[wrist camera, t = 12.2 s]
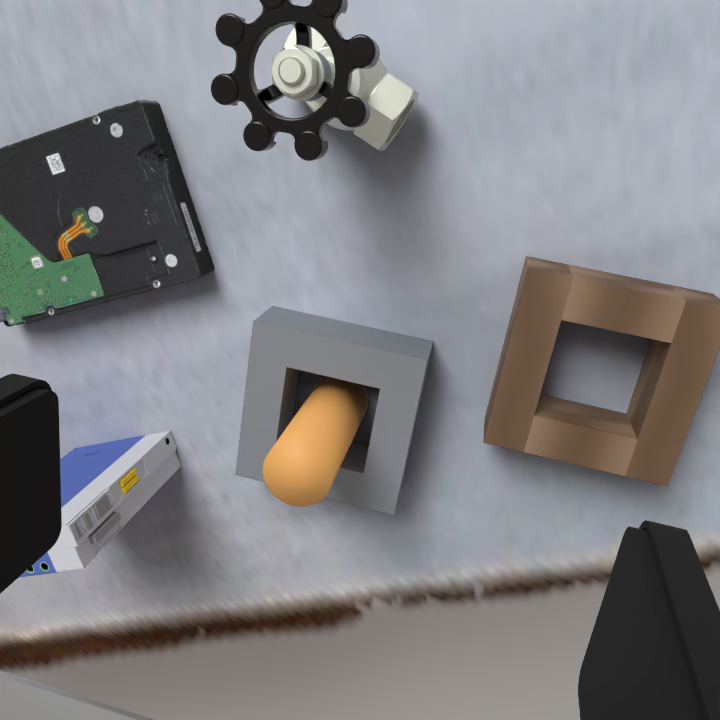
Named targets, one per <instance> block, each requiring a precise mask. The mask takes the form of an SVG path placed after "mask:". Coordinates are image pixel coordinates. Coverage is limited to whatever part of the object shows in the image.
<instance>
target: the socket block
mask: <svg viewBox="0 0 720 720" xmlns="http://www.w3.org/2000/svg"><path fill="white" fill-rule="evenodd" d="M432 346H433V341H428V340H424V339H419V338H415V337H410V336H405V335H401V334H396V333H392V332H387V331H383V330H378V329H374V328H369V327H365V326H360V325H356V324H351V323H347V322H342V321H338V320H333V319H329V318H324V317H319V316H315V315H310V314H306V313H301V312H297V311H292V310H288V309H283V308H279V307H274V306H272V307H271V308H270V309H268V310H267V311H266V312H265V313H263V314H262V315H261V316H259V317H258V318H257V319H256V320H254V321H253V328H252V336H251V345H250V354H249V362H248V371H247V380H246V388H245V397H244V406H243V414H242V423H241V432H240V440H239V449H238V457H237V466H236V475H238V476H242V477H246V478H250V479H254V480H258V481H262V482H265V480H264V477H263V463H264V460H265V458H266V456H267V454H268V453H269V452H270V450H271V449H272V447H273V446H274V445H275V443H276V442H277V440H278V439H279V438H280V436H281V435H282V433H283V432H284V431H285V429H286V428H287V426H288V425H289V424H290V422H291V421H292V419H293V414H294V407H295V400H296V393H297V387H298V380H299V373H300V370H302V371H306V372H310V373H315V374H319V375H323V376H327V377H332V378H336V379H340V380H345V381H349V382H353V383H358V384H362V385H366V386H370V387H375V388H379V389H380V391H379V397H378V402H377V407H376V412H375V417H374V423H373V428H372V433H371V438H370V443H369V446H366V445H362V444H358V443H353V442H352V443H351V445H350V447H349V449H348V451H347V453H346V455H345V458H344V460H343V462H342V464H341V466H340V468H339V470H338V472H337V475H336V477H335V479H334V481H333V483H332V485H331V487H330V489H329V491H328V493H327V495H326V496H325V497H324V498H328V499H332V500H336V501H340V502H344V503H348V504H352V505H356V506H360V507H363V508H367V509H371V510H375V511H379V512H383V513H387V514H391V515H394V513H395V510H396V506H397V503H398V499H399V496H400V492H401V488H402V484H403V480H404V475H405V470H406V466H407V461H408V457H409V452H410V447H411V443H412V438H413V433H414V429H415V424H416V420H417V415H418V410H419V406H420V401H421V397H422V392H423V387H424V383H425V378H426V374H427V369H428V364H429V360H430V355H431V350H432Z"/></svg>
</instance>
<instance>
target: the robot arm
mask: <svg viewBox="0 0 720 720" xmlns="http://www.w3.org/2000/svg"><path fill="white" fill-rule="evenodd" d="M61 527H62V515H61V478H60V442H59V406H58V397H57V395H56V393H54V392H53V391H52V390H51V387H50V385H49V384H48V383H47V382H46V381H43V380H39V379H35V378H30V377H26V376H22V375H17V374H10V375H7V376H4V377H2V378H0V593H1V592H2V591H4V590H5V589H6V588H7V587H8V586H9V585H10V584H11V583H13V582H14V581H15V580H16V579H17V578H18V577H19V576H21V575H22V574H23V573H24V572H25V571H26V570H27V569H28V568H30V567H31V566H32V565H33V564H34V563H35V562H36V561H37V560H39V559H40V558H41V557H42V556H43V555H44V554H45V553H46V552H48V551H49V550H50V549H51V548H52V547H53V546H54V545H55V543H56V542H57V540H58V538H59V536H60V532H61ZM578 697H579V707H580V718H581V720H720V611H719V608H718V606H717V603H716V601H715V598H714V596H713V593H712V590H711V588H710V586H709V583H708V580H707V578H706V575H705V573H704V570H703V568H702V565H701V563H700V560H699V558H698V555H697V553H696V550H695V548H694V545H693V543H692V540H691V538H690V535H689V533H688V532H687V530H684V529H681V528H676V527H672V526H668V525H663V524H659V523H655V522H650V521H646V520H645V521H644V522H642V524H641V526H640V527H639V529H637V528H633V527H628V528H627V529H626V531H625V533H624V535H623V538H622V541H621V545H620V548H619V551H618V554H617V557H616V560H615V563H614V566H613V570H612V573H611V576H610V579H609V582H608V585H607V588H606V591H605V595H604V598H603V601H602V604H601V607H600V610H599V613H598V616H597V620H596V623H595V626H594V629H593V632H592V635H591V639H590V642H589V644H588V648H587V651H586V654H585V657H584V660H583V663H582V666H581V670H580V676H579V683H578ZM0 720H154V719H151V718H148V717H144V716H141V715H138V714H135V713H132V712H129V711H126V710H122V709H119V708H116V707H113V706H110V705H107V704H104V703H101V702H97V701H94V700H91V699H88V698H85V697H82V696H78V695H75V694H72V693H69V692H66V691H62V690H60V689H56V688H53V687H50V686H47V685H44V684H41V683H37V682H34V681H31V680H28V679H25V678H22V677H18V676H15V675H12V674H9V673H6V672H3V671H0Z"/></svg>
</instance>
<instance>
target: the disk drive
mask: <svg viewBox="0 0 720 720" xmlns="http://www.w3.org/2000/svg"><path fill="white" fill-rule="evenodd" d="M213 270H214V265H213V262H212V259H211V256H210V254H209V251H208V247H207V245H206V242H205V238H204V235H203V232H202V230H201V226H200V224H199V221H198V218H197V214H196V211H195V208H194V205H193V202H192V199H191V196H190V193H189V190H188V187H187V184H186V182H185V178H184V175H183V173H182V169H181V166H180V164H179V160H178V157H177V154H176V151H175V148H174V145H173V143H172V140H171V137H170V134H169V132H168V129H167V127H166V123H165V121H164V117H163V113H162V110H161V108H160V104H159V103H158V102H156V101H145V100H143V101H139V100H138V101H135V102H132V103H129V104H125V105H123V106H117V107H114V108H111V109H108V110H105V111H103V112H101V113H99V114H98V115H94V116H92V117H88V118H85V119H83V120H79V121H77V122H74V123H71V124H69V125H65V126H63V127H60V128H57V129H55V130H51V131H48V132H45V133H42V134H40V135H38V136H34V137H32V138H29V139H25V140H22V141H21V142H18V143H14V144H12V145H8V146H5V147H2V148H0V322H4V324H5V325H6V326H13V325H18V324H22V323H31V322H35V321H39V320H41V319H44V318H47V317H50V316H55V315H58V314H62V313H66V312H70V311H74V310H77V309H82V308H86V307H89V306H93V305H96V304H101V303H105V302H108V301H111V300H116V299H119V298H123V297H128V296H131V295H135V294H139V293H143V292H146V291H150V290H154V289H157V288H164V287H168V286H173V285H177V284H179V283H183V282H184V281H188V280H191V279H195V278H199V277H201V276H203V275H205V274H207V273H209V272H211V271H213Z"/></svg>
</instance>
